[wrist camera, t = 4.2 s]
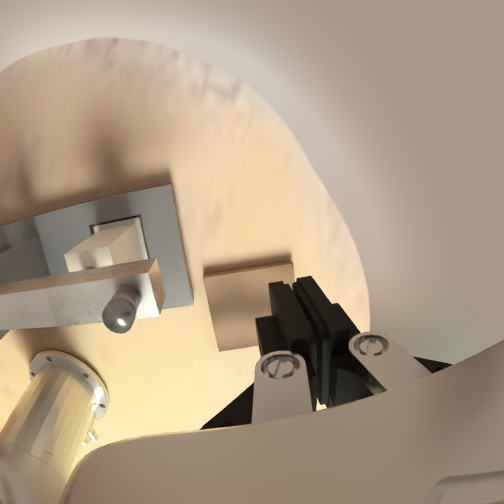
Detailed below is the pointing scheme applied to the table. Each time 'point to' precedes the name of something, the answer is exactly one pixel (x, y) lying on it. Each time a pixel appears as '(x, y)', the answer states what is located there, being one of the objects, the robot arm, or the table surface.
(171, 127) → the table surface
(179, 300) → the socket block
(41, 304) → the bolt
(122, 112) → the table surface
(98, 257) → the plug
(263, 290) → the pad
